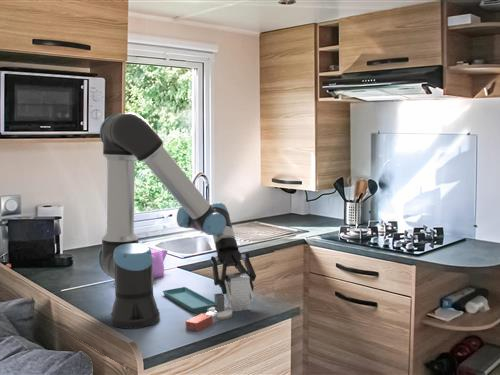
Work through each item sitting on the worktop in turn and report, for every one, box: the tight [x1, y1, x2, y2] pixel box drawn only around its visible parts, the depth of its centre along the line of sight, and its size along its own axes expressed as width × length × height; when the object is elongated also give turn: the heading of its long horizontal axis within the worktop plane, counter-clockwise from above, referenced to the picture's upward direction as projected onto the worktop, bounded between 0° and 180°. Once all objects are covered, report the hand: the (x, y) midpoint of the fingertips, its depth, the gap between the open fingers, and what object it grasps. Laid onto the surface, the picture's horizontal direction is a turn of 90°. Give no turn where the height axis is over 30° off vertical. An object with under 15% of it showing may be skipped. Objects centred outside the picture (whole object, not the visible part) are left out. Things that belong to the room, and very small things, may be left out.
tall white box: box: [224, 272, 251, 313], centre depth 194 cm, size 6×6×11 cm
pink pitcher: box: [149, 247, 168, 280], centre depth 238 cm, size 17×17×12 cm
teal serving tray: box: [162, 286, 215, 314], centre depth 202 cm, size 26×9×2 cm, turn 31°
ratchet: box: [185, 292, 233, 333], centre depth 182 cm, size 19×8×7 cm, turn 149°
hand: (240, 300), depth 191 cm, fingers open, 7 cm apart
